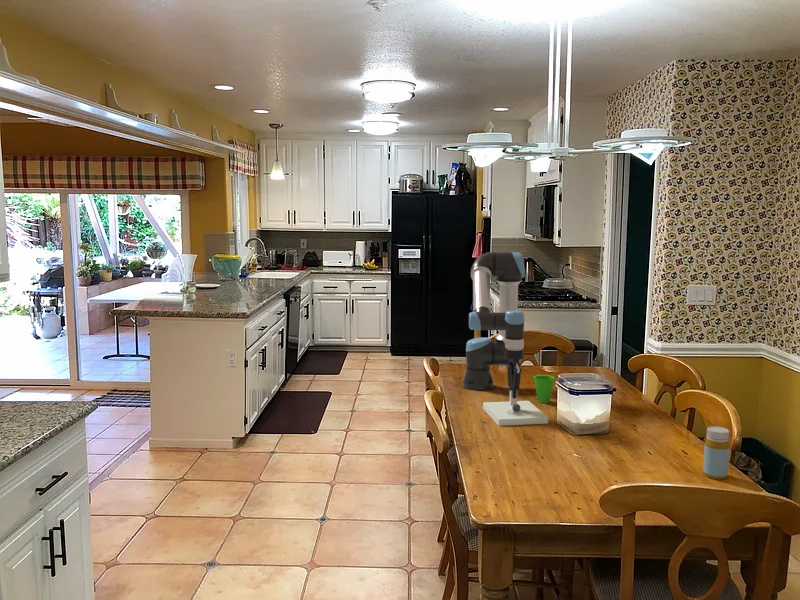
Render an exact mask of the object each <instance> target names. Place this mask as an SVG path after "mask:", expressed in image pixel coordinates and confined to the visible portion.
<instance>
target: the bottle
mask: <svg viewBox="0 0 800 600" xmlns="http://www.w3.org/2000/svg"><path fill="white" fill-rule="evenodd" d="M729 437H730V430H729V429H728V428H725V427H723V426H714V425H712V426H708V427H707V428H706V438H705V441H704V450H703V452H704V453H703V466H702V470H703V475H704V476H705V477H707V478H709V479H712V480H717V481H718V480H719V481H720V480H726V479H727V478H728V476H729V467H730V466H729V465H730V464H729V463H730V450H731V447H730V446H731V445H730V443H729V441H730V440H729Z"/></svg>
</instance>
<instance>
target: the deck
mask: <svg viewBox="0 0 800 600" xmlns="http://www.w3.org/2000/svg"><path fill="white" fill-rule="evenodd" d="M517 404H519V405H520V410H519V411H518V412H515V411H513V409H512V407H513V406H510V400H509V401H488V402H487V401H486V402H482V409H483V410H484V412H486V413H487V414H488V416H489V417H490V418H491V419H492V420H493V421H494V422H495V423H496V425H498V426H500V427H502V426H521V425H522V426H525V425H539V424H540V425H543V424H549V416H547V415H546V414H545V413H544V412H543V411H542V410H540V409H539V408H538V407H536V406H535V405H534V404H533V403H532V402H531V401H529V400H517Z"/></svg>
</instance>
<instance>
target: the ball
mask: <svg viewBox="0 0 800 600" xmlns="http://www.w3.org/2000/svg"><path fill="white" fill-rule="evenodd" d="M512 409H513V411H515V412H518V411H519V410H520V405H519V404H514V405H513V407H512Z"/></svg>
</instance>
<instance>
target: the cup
mask: <svg viewBox="0 0 800 600" xmlns="http://www.w3.org/2000/svg"><path fill="white" fill-rule="evenodd" d="M533 378H534V384H535V391H536V399H537V402H538V403H541V404H549V403H550V402H551V395H552V390H553V386H554V381H555V379H556V378H555V377H554V376H553V375H550V374H549V375H547V374H538V375H536V374H535V375H534V376H533Z"/></svg>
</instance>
